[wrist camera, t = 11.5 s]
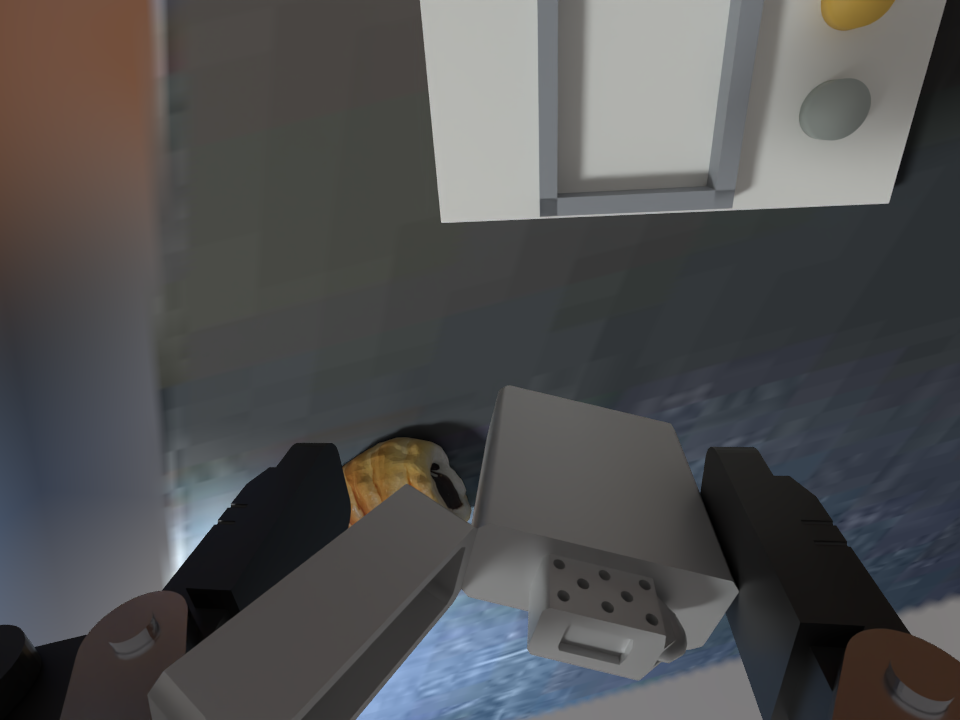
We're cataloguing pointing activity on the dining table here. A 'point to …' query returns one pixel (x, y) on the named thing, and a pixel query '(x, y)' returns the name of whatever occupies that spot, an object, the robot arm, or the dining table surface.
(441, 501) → the pastry
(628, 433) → the lighter
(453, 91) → the board
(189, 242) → the dining table surface
